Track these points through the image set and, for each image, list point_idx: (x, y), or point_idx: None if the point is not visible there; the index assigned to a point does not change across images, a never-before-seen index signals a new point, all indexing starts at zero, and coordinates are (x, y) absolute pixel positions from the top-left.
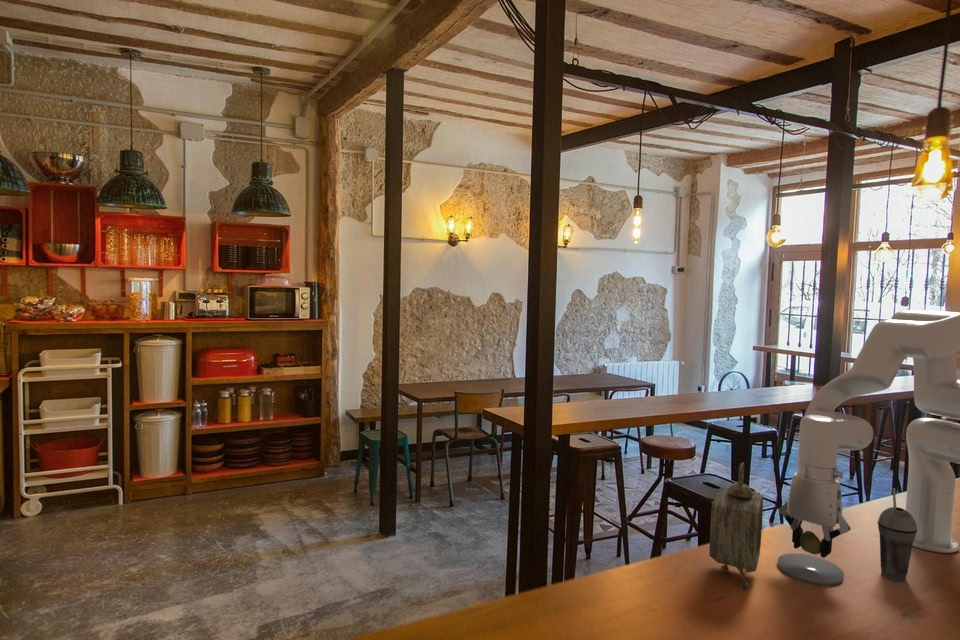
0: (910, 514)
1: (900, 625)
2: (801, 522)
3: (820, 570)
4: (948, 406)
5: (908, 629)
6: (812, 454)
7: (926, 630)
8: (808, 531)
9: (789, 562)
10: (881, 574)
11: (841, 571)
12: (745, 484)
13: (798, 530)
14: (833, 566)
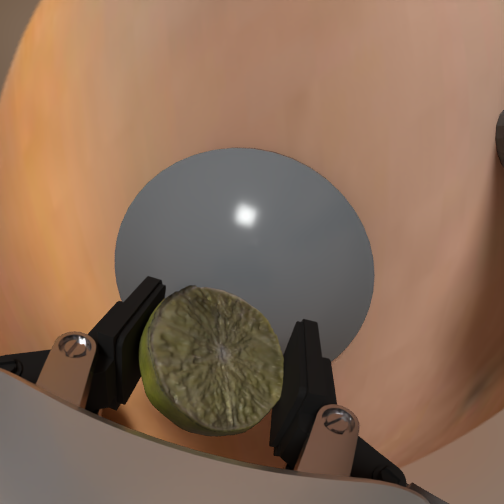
0: None
1: (443, 436)
2: (87, 395)
3: (281, 304)
4: None
5: (451, 438)
6: None
7: (483, 421)
8: (171, 415)
9: None
10: (496, 142)
11: (366, 260)
12: None
13: (114, 394)
14: (334, 223)
